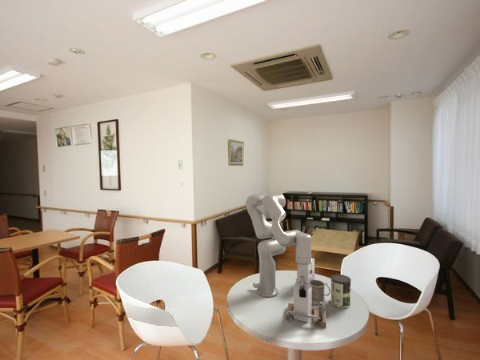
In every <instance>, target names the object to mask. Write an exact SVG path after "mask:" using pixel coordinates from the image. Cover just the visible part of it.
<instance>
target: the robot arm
mask: <svg viewBox="0 0 480 360" xmlns="http://www.w3.org/2000/svg"><path fill="white" fill-rule="evenodd" d="M245 200H246V201H245V206H246V211H247V213H248V215H249V216H250V219H251V221H252V226H253V229H254V233H255V235H256V237H257V239H260V240H261V239H266V240H262V241H260V242H259V243H258V245H257V251H258V252H257V253H258V258H259V259H258V260H259V282H258V283H257V282H252V286H253V288H254V289H256V292H257V294H258V295H259V296H261V297H266V298H271V297H275V296H277V295H278V294H279V290H278V288H277V287H276V272H277V271H276V269H277V268H276V261H275V260H274V257H273V256H277V255H282V254H283V253H285V252H286V249H287V247H292V246H295V263H297V267H296V268H297V271H296V272H297V273H296V279H297V283H300V288H299V297H303V298H306V289H305V288H306V284H307V281H308V272H309V264H311V258H312V235H311V234H309V233H304V232H302V231H301V230H299V229H293V230H287V231H284V230H283V229H282V227H281V225H280V223H281V222H282V221H283V220H285V218H286V216H287V213H286V211H285V210H284V207H285V206H286V202H287V201H286V198H285V197H284V195H283V194H281V193H270V192H269V193H268V192H267V193H258V194H257V193H256V194H255V193H254V194H252V195H249V196H248V197H247V198H246V199H245ZM260 208H264V209H265V211H266V213H267V214H268V215H269V217H270V219H271V220H272V221H267V219H266V216H265V213H263V211H262V210H260ZM268 238H270V239H268ZM304 282H305V283H304Z"/></svg>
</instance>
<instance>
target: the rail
mask: <svg viewBox="0 0 480 360" xmlns="http://www.w3.org/2000/svg"><path fill="white" fill-rule="evenodd" d="M290 314H291V315H292V316H294V315H297V316H303V317H309V318H310V319H314V318H315V319H321V317H320V316H316V315H314V314H311V315H310V314H304V313H298V312H294V311H288V313H287V322H290V321H289V315H290Z"/></svg>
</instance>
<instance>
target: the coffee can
mask: <svg viewBox="0 0 480 360" xmlns="http://www.w3.org/2000/svg"><path fill="white" fill-rule="evenodd" d="M351 283H352V279H351V277H349V276H348V275H344V274H340V273H339V274H337V273H335V274H332V275H331V276H330V303H331V304H332V306H335V307H337V308H341V309H343V308H344V309H346V308H347V309H348V308H349V307H350V306H351V290H352V289H351Z"/></svg>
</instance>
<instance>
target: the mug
mask: <svg viewBox="0 0 480 360" xmlns="http://www.w3.org/2000/svg"><path fill="white" fill-rule="evenodd" d="M309 282H310V285H311V286H312V304H313V305H319V302H323V305H324V304H325V303H326V298H325V296H330V295H331V287H330V286H329V284H328V283H326V282H324V281H322V280H319V279H314V280H311V281H309ZM325 286H326V287H327V289H328V294H326V293H325Z"/></svg>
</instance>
